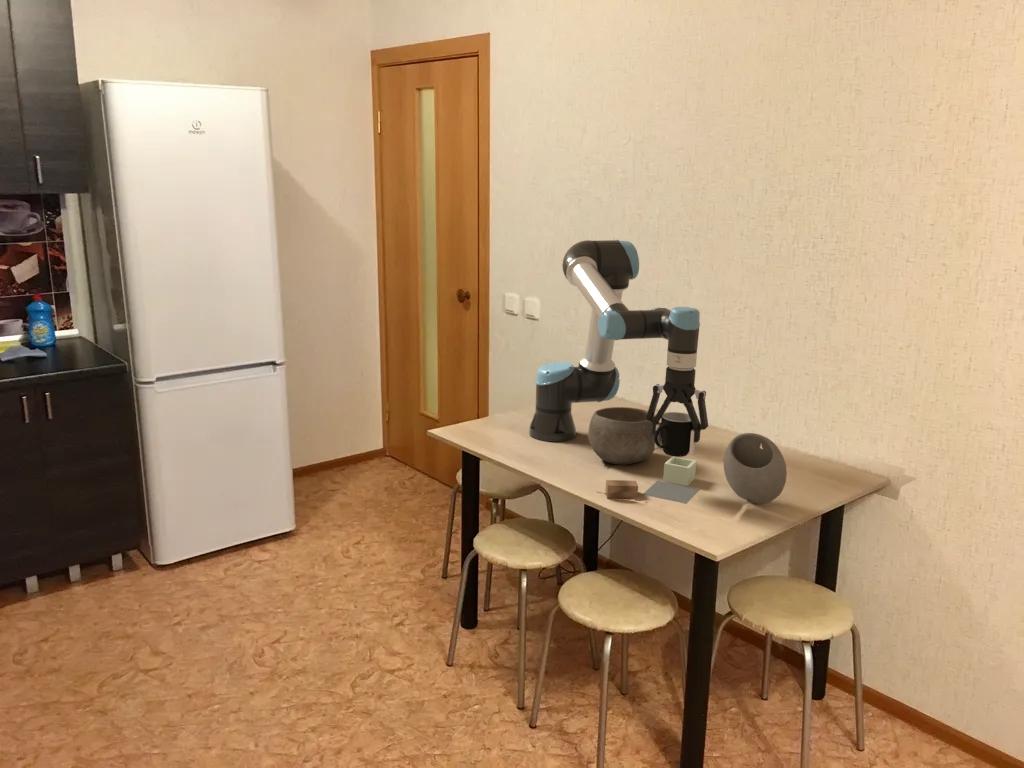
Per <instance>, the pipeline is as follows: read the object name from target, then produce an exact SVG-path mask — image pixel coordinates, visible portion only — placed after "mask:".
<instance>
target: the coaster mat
mask: <svg viewBox="0 0 1024 768" xmlns="http://www.w3.org/2000/svg"><path fill="white" fill-rule="evenodd" d="M699 490H700V489H699V488H696V487H690V486H684V485H679V484H674V483H669V482H664V481H663V480H661V481H660V480H656V481H655V482H654V483H653V484H652V485H651V486H650V487H649V488H648V489H646V491H644V492H643V493H642V495H644V496H648V497H652V498H653V497H654V498H656V499H657V498H658V499H663V500H667V501H672V502H677V503H680V504H688V502H689V501H691V499H692V498H694V496H695V495H696V493H698V492H699Z"/></svg>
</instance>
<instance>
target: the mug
mask: <svg viewBox="0 0 1024 768" xmlns="http://www.w3.org/2000/svg"><path fill="white" fill-rule="evenodd" d="M660 422H661V426H660V427H659V428H658V429H657V430H656V432H655V435H654V441H655V444H656V445H657V446H658V447H659V448H660V449H662V451H663V453H664V454H665V455H667V456H669V457H670V456H671V457H672V456H673V457H678V458H682V457H686V456H687V455H689V451H690V439H691V430H693V429H694V427H693V425H692V422H691V420H690V417H689V415H688V412H687V413H685V412H680V411H668V412H665V413H664V414H663V415H662V417H661V419H660ZM660 431H661V445H660V444H659V443H658V434H659V432H660Z"/></svg>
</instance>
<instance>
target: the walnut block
mask: <svg viewBox="0 0 1024 768" xmlns="http://www.w3.org/2000/svg"><path fill="white" fill-rule="evenodd" d="M638 494H639V485H638V482H637V480H623V479H622V480H621V479H619V480H618V479H617V480H614V479H606V480H605V497H606V500H631V501H632V500H634V501H635V500H636V501H637V500H638V499H637V497H638V496H639V495H638ZM634 497H635V498H634Z"/></svg>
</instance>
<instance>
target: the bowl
mask: <svg viewBox="0 0 1024 768" xmlns="http://www.w3.org/2000/svg"><path fill="white" fill-rule="evenodd" d="M647 413H648V410H646V409H641V408H636V407H627V406H625V407H624V406H614V407H613V406H612V407H604V408H600V409H597V410H595V411H594V413H593V414H592V416H591V419H590V421H589V426H588V433H587V434H588V442H589V444H590V447H591V449H592V450H593V452H594V453H595V454H596V455H597V456H598V458H599V459H602V461H604V462H606V463H609V464H612V465H613V464H614V465H619V466H620V465H631V464H636V463H640V462H643V461H644V460H645V461H646V460H647V459H648V458H650V456H651V455H653V453H654V452H655V450H656V448H655V441H654V435H653V434H652V428H653V423H652V422H651V421H648V420H646V417H647ZM655 416H656V414H655V413H654V417H655Z"/></svg>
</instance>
